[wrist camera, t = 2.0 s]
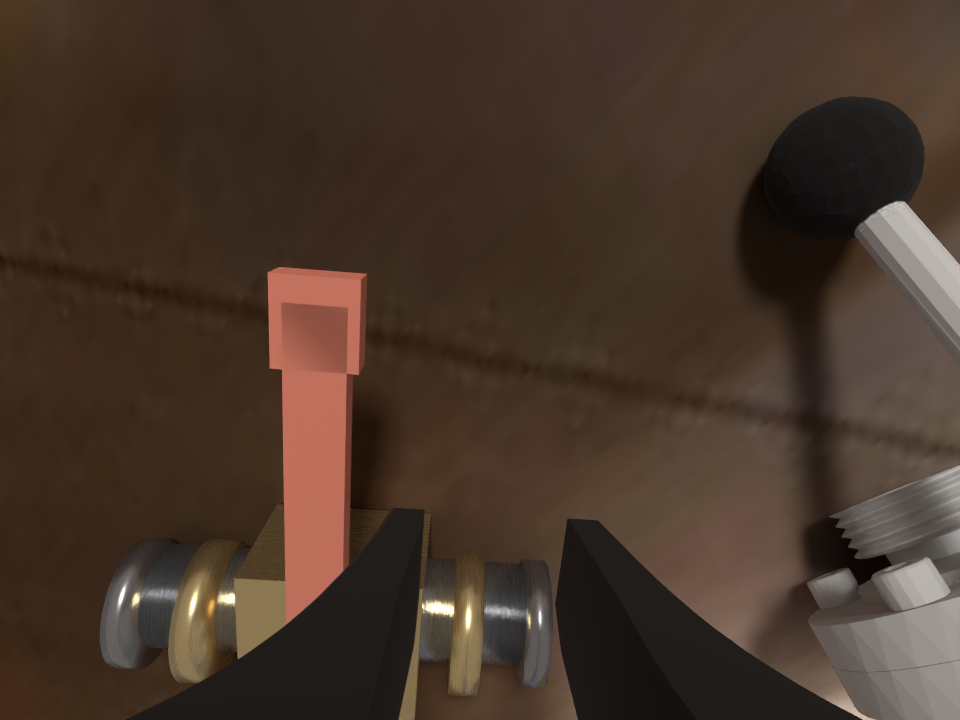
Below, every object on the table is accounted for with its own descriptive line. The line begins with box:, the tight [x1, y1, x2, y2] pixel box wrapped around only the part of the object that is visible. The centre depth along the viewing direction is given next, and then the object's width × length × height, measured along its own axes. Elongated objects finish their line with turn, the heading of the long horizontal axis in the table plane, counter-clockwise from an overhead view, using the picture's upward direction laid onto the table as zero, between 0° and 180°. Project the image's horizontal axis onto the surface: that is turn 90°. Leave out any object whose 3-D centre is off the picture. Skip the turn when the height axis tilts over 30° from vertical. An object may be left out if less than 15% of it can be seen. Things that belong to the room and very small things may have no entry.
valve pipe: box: [100, 504, 553, 720], centre depth 22 cm, size 15×6×5 cm, turn 85°
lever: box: [268, 267, 367, 624], centre depth 17 cm, size 15×3×2 cm, turn 175°
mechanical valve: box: [764, 97, 960, 720], centre depth 20 cm, size 10×18×15 cm
